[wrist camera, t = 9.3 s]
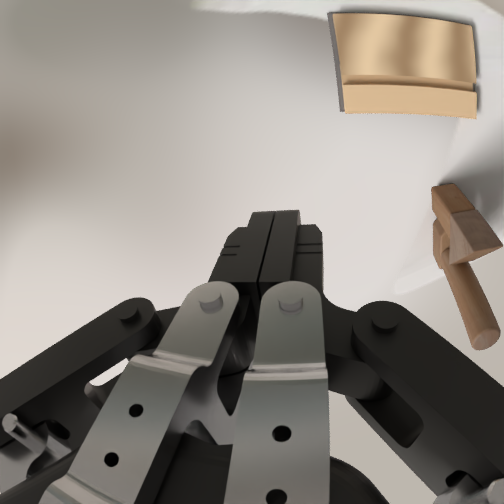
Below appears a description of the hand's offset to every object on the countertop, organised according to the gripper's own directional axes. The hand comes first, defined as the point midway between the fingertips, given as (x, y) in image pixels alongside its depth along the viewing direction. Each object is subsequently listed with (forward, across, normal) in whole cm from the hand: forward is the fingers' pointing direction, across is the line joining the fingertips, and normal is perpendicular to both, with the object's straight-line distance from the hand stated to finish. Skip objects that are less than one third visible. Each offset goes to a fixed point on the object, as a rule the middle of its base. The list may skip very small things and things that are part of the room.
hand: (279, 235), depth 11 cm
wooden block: (+27, -18, +15) cm, 36 cm away
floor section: (+27, -12, -5) cm, 30 cm away
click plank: (+27, -12, -7) cm, 30 cm away
